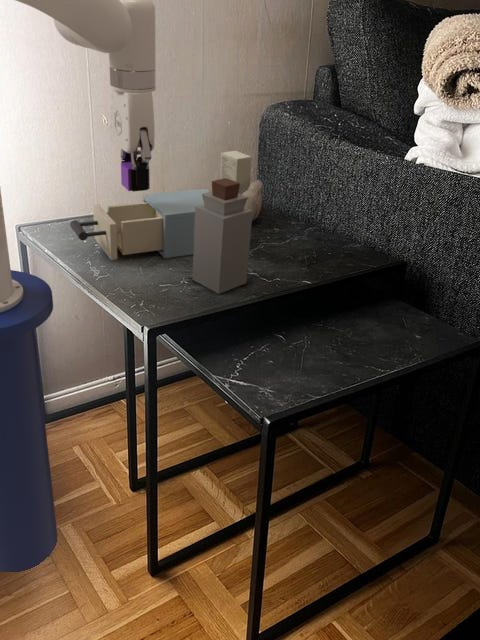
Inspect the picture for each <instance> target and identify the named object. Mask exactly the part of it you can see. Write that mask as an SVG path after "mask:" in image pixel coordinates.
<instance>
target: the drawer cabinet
mask: <svg viewBox="0 0 480 640" xmlns="http://www.w3.org/2000/svg"><path fill="white" fill-rule="evenodd" d="M207 192H211V191H210V190H208V189H207V188H200V189H190V190H179V191H178V190H177V191H168V192H167V191H166V192H157V193H147V194H142V203H143V202H147V203H148V204H149V205H151V206H152V207H153V208H154V209H155V210H156V211H157V212H158V213H159V214H160V215H161V216H162V217H163V218H164V220H163V250H157V253H159V254H160V255H161V257H163V258H164V259H170V258H175V257H176V258H177V257H184V256H190V255H193V253H194V228H195V207H196V206H200V205H204V201H203V197H202V194H203V193H207Z"/></svg>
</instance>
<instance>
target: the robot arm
mask: <svg viewBox="0 0 480 640" xmlns="http://www.w3.org/2000/svg"><path fill="white" fill-rule="evenodd" d="M15 1H16V2H18V3H22V4H23V5H27V6H29V7H31V8H33V9H35V10H37V11H39V12H42V13H43V14H45V15H47V16H48V17H50V18H52V19H53V23H54V27H55V28H56V30H57V32H58V34H59V35H60V36H61V37H62V38H63V39H65V40H66V41H67V42H69V43H70V44H73V45H75V46H79V47H82V48H85V49H89V50H93V51H96V52H100V53H104V54H108V61H109V87H110V90H112V92H111V105H110V111H111V112H110V115H111V116H110V119H111V120H110V127H111V128H110V130H111V131H110V134H111V136H110V137H111V140H112V142H113V143H115V145H117V146H118V147H119V148H120V160H121V162H120V164H121V163H125V162H132V169H130V188H131V190H132V191H131V192H141V191H148V190H149V189H148V188H149V183H148V169H149V170H150V161H151V160H152V153H151V152H152V151H153V150H154V149H155V137H156V136H155V135H156V133H155V113H154V111H155V110H154V99H153V98H154V97H153V92H155V91H156V90H157V89H156V86H157V85H156V7H155V4H154V2H153V1H152V0H15ZM138 148H140V150H139V149H138ZM139 155H140V156H139ZM3 206H4V205H3V199H2V189H1V187H0V313H1V312H4V311H7V310H9V309H11V308H13V307H14V306H16V305H17V304H18V303H19V302H20V301H21V300H22V298H23V294H24V293H23V287H22V286H21V284H19V283H18V282H17V281H15V280H13V279H12V276H11V270H12V269H11V261H10V253H9V244H8V237H7V230H6V220H5V214H4V213H5V212H4V207H3Z"/></svg>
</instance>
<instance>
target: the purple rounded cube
mask: <svg viewBox="0 0 480 640" xmlns="http://www.w3.org/2000/svg"><path fill="white" fill-rule="evenodd" d="M130 169H132V162H125V163H121V162H120V177H121V185H122V187H124V188H125V189H126V190H127V191H128V192H133V191H132V190H131V188H130ZM148 183H149V188H148V190H150V189H151V188H150V168H149V169H148Z"/></svg>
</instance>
